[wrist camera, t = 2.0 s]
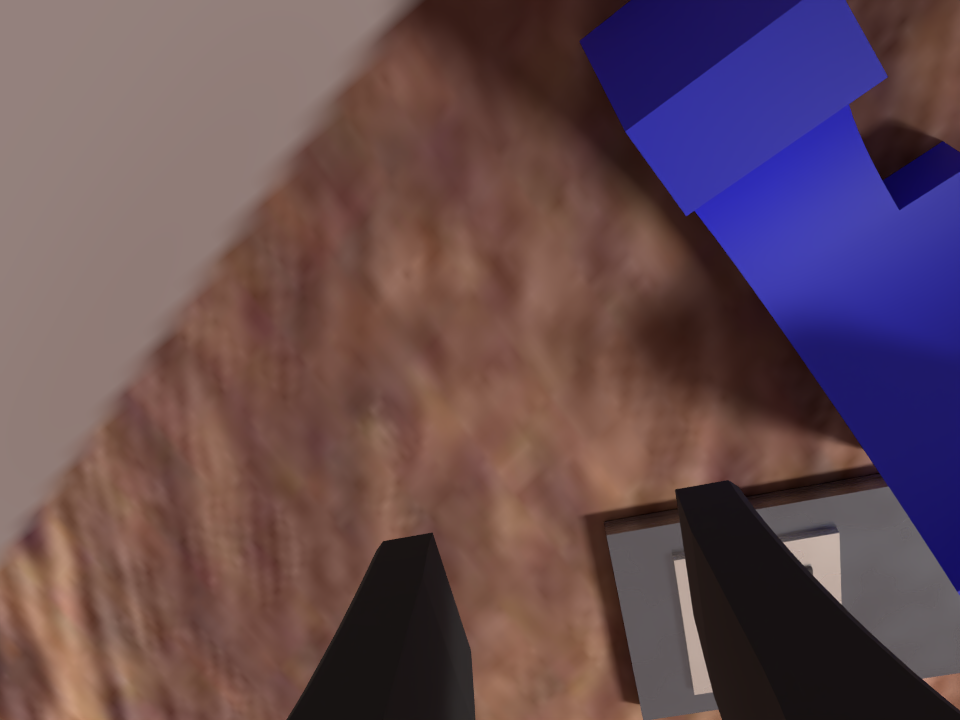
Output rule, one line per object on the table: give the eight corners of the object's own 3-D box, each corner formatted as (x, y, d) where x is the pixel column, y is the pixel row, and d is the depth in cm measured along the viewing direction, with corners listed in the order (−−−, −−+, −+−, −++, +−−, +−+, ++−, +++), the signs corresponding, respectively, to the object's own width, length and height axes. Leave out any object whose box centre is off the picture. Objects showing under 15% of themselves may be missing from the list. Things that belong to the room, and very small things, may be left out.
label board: (1244, 409, 21) (1270, 429, 20) (1193, 621, 25) (1214, 644, 24) (603, 522, 23) (608, 543, 22) (640, 706, 26) (645, 729, 25)
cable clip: (1050, 344, 20) (1247, 519, 15) (867, 446, 22) (990, 638, 17) (791, -131, 16) (950, -110, 10) (578, 39, 17) (625, 131, 12)
